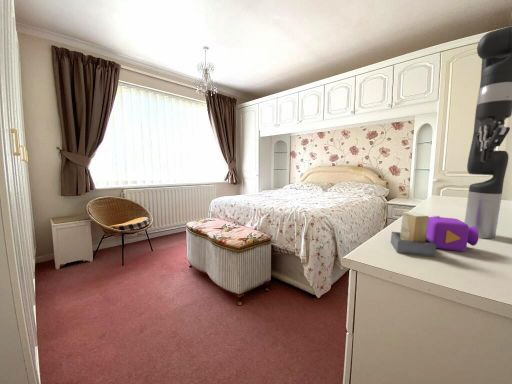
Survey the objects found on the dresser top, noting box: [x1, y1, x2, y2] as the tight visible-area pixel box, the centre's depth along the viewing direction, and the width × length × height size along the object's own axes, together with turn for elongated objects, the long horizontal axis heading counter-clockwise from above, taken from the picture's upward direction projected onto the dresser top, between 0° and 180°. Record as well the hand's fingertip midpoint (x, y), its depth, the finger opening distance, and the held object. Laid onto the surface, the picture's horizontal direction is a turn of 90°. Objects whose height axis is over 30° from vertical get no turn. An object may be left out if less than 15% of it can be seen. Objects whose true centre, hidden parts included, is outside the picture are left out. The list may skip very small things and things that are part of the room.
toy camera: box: [426, 214, 480, 252], centre depth 78 cm, size 11×14×10 cm
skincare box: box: [400, 211, 430, 243], centre depth 75 cm, size 6×4×12 cm
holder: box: [390, 231, 437, 258], centre depth 75 cm, size 10×10×4 cm
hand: (486, 161), depth 69 cm, fingers closed
